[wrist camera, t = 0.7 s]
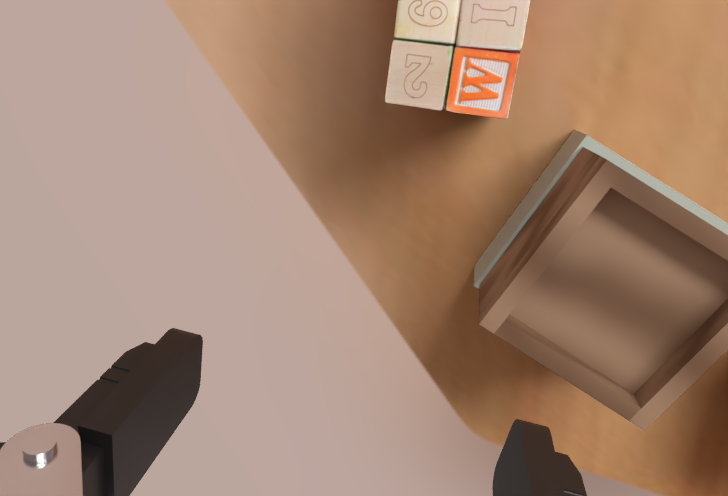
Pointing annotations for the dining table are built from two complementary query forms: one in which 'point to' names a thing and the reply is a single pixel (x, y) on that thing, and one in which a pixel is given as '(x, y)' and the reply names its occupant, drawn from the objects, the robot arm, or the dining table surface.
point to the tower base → (552, 176)
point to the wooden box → (613, 290)
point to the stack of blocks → (456, 55)
